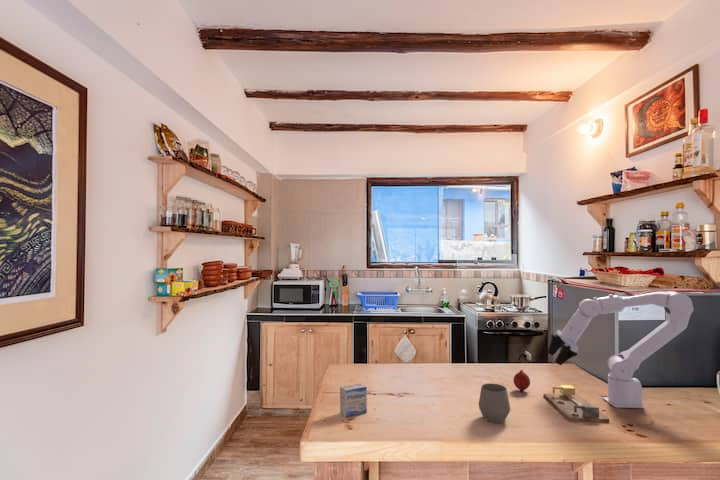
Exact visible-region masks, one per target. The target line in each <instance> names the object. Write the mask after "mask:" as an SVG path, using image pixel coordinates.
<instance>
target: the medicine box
mask: <svg viewBox="0 0 720 480" xmlns="http://www.w3.org/2000/svg"><path fill="white" fill-rule="evenodd" d="M367 393H368V391H367V386H366V385H365V384H363V383H356V384H350V385H346V386H340V387H339V399H340V400H339V401H340V402H339V403H340V404H339V412H340V414H342V416H343V417H345V418H347V419H348V418H350V417H354V416H359V415H363V414H367V413H368V409H367V408H368V407H367V406H368V401H367V400H368V399H367V397H368V394H367Z"/></svg>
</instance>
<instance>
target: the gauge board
mask: <svg viewBox="0 0 720 480" xmlns="http://www.w3.org/2000/svg"><path fill="white" fill-rule="evenodd" d="M543 398H545V399H546V401H548V402H549V404H550V405H552V406H553V407H554V408H555V409H556V410H557V411H558V412H559V413H560V414H561V415H562V416H563V417H565V418H566V420H567V421H568V422H584V423H585V422H586V423H587V422H590V423H591V422H595V423H609V422H610V418H609V417H608V416H606V415H605V414H604V413H602V412H601V411H600V407H599V406H598V405H596V404H591V403H589V402H588V401H587V400H585V399H584V398H583V397H582V396H580V395H579V394H578V393H577V394H576V393H575V395H563V394H561V393H543Z"/></svg>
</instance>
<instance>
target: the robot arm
mask: <svg viewBox="0 0 720 480" xmlns="http://www.w3.org/2000/svg"><path fill="white" fill-rule="evenodd" d="M647 305H655V306H658V307H660V308H661V307H662V308H663V309H664V311H665V321H663V322H662V323H661V324H660V325H658V326H657V327H656V328H654V329H653V330H652V331H651V332H649V333H648V334H647V335H646V336H644V337H643V338H642V339H639V341H638V342H636V343H635V344H634V345H632V346H631V347H630V348H628V349H627V350H623V351H621V352H620V353H618V354H615V355H614V354H613V355H611V356H610V357H609V358H608V359H607V366H608V368H609V370H610V371H609V373H608V374H607V391H608V392H607V396H603V397H602V400H604V401H605V402H607V403H608V404H610V405H611V406H613V407H614V408H623V409H624V408H627V409H629V408H631V409H632V408H633V409H644V408H645V406H644V405H643V386H642V383H641V381H640V380H639V379H638V378H636V377H633V375H634V373H635V372H636V371H637V370H639V367H640V365H641V363H642V362H644V361H645V360H646V359H648V358H649V357H651V356H652V355H653V354H654V353H655V352H657V351H658V350H660V349H661V348H662V347H664V346H665V345H666V344H667V343H670V342H671V340H673V339H674V338H676V337H677V336H678V335H680V334H681V333H682V332H683V331H685V330H686V329H687V328H688V325H689V321H690V318H691V315H692V313H693V312H694V309H695V308H694V305H693V302H692V299H691V298H690V297H689V296H688V295H687V294H684V293H680V292H678V291H675V290H668V291H655V292H653V291H652V292H647V293H642V294H637V295H632V296H626V297H621V296H619V295H617V294H616V295H614V294H612V293H610V294H608V295H607V296H602V297H597V296H594V297H592V299H590V298H585V299H582V301H579V303H578V307H577V309H576V311H575V313H573V314H572V316H571V318H569V320H568V321H567V323H566V325H565V326H564V328H563V329H562V331H561V330H560V329H557V330H556V331H555V332H554V334H553V333H551V335H550V336H551V337H550V344H549V347H548V348H547V349H548V350H547V354H549V355H551V356H554V355H555V354H556V353H557V352H558V350H559V349H560V350H559V353H558V355H557V356H556V359H555V363H556V364H558V365H560V366H562V365H563V364H564V363H566V362H568V360H570V359H572V358H574V357H577V356H578V351H579V349H580V348H579V346H578V345H577V342H578V340H579V339H580V337H582V335H583V333H584V332H585V330H586V329H587V328H588V326H589V325H590V322H591V321H592V319H593V318H595V317H597V316H598V315H599V314H601V315H606V314H611V313H612V314H614V313H619V312H623V310H624V309H625V308H630V307H637V306H638V307H640V306H647Z"/></svg>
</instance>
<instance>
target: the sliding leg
mask: <svg viewBox="0 0 720 480" xmlns="http://www.w3.org/2000/svg"><path fill="white" fill-rule="evenodd" d="M556 390H559V394H563V395H575V394H576V388H575V387H574V386H573V385H572V384H565V385H564V384H559V386H552V394H556V392H555V391H556Z"/></svg>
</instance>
